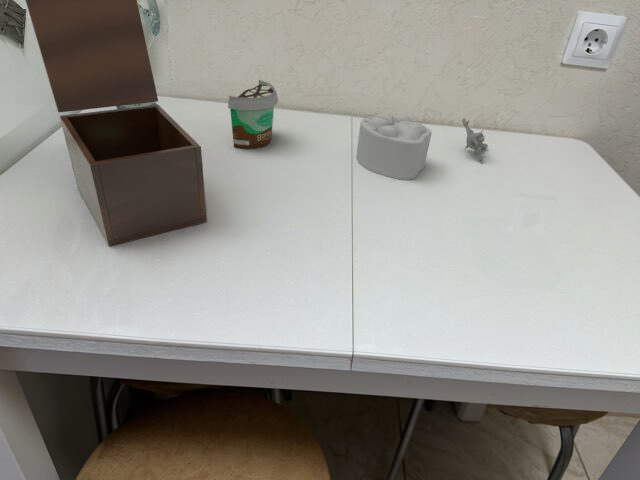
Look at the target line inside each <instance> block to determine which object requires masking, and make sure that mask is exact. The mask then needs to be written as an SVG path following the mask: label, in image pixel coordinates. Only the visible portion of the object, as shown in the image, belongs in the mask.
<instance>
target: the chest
mask: <svg viewBox="0 0 640 480" xmlns="http://www.w3.org/2000/svg"><path fill="white" fill-rule="evenodd" d="M59 120H60V123H61V127H62V131H63V136H64V140H65V143H66V147H67V151H68V155H69V159H70V164H71V167H72V170H73V175H74V178H75V179H74V180H75V182H76V186H77V190H78V192H79V194H80V196H81V198H82V200H83V201H84V204H85V205H86V207H87V209H88V211H89V213H90V214H91V217H92V218H93V220H94V222H95V224H96V226H97V228H98V229H99V232H100V233H101V235H102V237H103V238H104V240H105V242H106V244H107V246H108V247H112V246H115V245H119V244H124V243H128V242H131V241H137V240H139V239H143V238H144V239H145V238H148V237H152V236H155V235H156V236H157V235H160V234H164V233H168V232H172V231H177V230H179V229H184V228H188V227H192V226H196V225H200V224H204V223H208V216H207V204H206V192H205V191H206V190H205V181H204V180H205V179H204V166H203V156H202V155H203V154H202V153H203V152H202V146H201V145H200V144H199V143H198V142H197V141H196V140H195V139H194V138H193V137H192V136H191V135H190V134H189V133H188V132H186V130H185V129H184V128H183V127H182V126H180V124H179V123H177V121H176V120H175V119H173V118H172V117H171V116H170V115H169V114H168V113H167V112H166V111H165V110H164V108H162V107H161V106H160V105H159V104H150V105H141V106H133V107H124V108H116V109H108V110H107V109H106V110H99V111H89V112H82V113H81V112H79V113H72V114H62V115H59Z"/></svg>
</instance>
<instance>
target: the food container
mask: <svg viewBox="0 0 640 480" xmlns="http://www.w3.org/2000/svg"><path fill="white" fill-rule="evenodd" d="M278 98H279V97H278V92H277V90H276V88H275V86H274V85H273V84H272V83H270V82H268V81H264V80H261V79H258V85H256V86H254V87H252V88H249V89H246V90H244V91H243V92H241V93H240V94H239V95H238V96H233V95H228V102H227V109H230V110H229V111H230V119H231V120H230V121H231V131H232V142H233V148H237V149H244V150H245V149H246V150H251V149H252V150H254V149H255V150H257V149H260V148H261V149H262V148H264V147H266V146H269V145H270V144H271V142H272V133H273V123H274V114H275V112H274V111H275V106H276V105H277V104H278V102H279V99H278Z"/></svg>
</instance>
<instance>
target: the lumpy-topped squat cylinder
mask: <svg viewBox="0 0 640 480" xmlns="http://www.w3.org/2000/svg"><path fill="white" fill-rule="evenodd" d="M359 124H360V125H359V130H358V131H359V132H358V138H357V139H358V140H357V147H356V154H355V158H356V161H357V163H358V164H359V165H361V166H362V167H363V168H365V169H366V170H368V171H370V172H373V173H375V174H378V175H381V176H385V177H389V178H391V179H392V178H393V179H396V180H401V181H412V180H414V179H416V178H417V177H418V175H419V173H420V172H421V171H423V170H424V169H425V166H426V162H427V157H428V152H429V147H430V142H431V137H432V130H431V129H430V128H429V127H427V126H425V125H423V124H422V123H420V122H417V121H412V118H411V117H410V116H409V115H408V114H405V113H400V114H396V115H394V116H393V115H390V114H388V113H379V114H377V115H375V116H367V117H364V118H363V119H362V120H361V121H360V123H359Z"/></svg>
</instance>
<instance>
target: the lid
mask: <svg viewBox="0 0 640 480" xmlns="http://www.w3.org/2000/svg"><path fill="white" fill-rule="evenodd" d="M25 4H26V7H27V10H28V14H29V16H30V21H31V24H32V28H33V32H34V34H35V38H36V41H37V45H38V49H39V52H40V55H41V59H42V63H43V65H44V70H45V72H46V76H47V79H48V83H49V86H50V90H51V93H52V97H53V99H54V103H55V107H56V111H57V113H67V112H76V111H83V110H84V111H85V110H86V111H87V110H93V109H95V110H96V109H102V108H103V109H104V108H111V107H112V108H113V107H120V106H121V107H122V106H130V105H139V104H147V103H158V102H159V97H158V93H157V88H156V83H155V79H154V75H153V70H152V64H151V61H150V56H149V55H150V54H149V51H148V46H147V42H146V37H145V32H144V28H143V27H144V26H143V23H142V18H141V13H140V9H139V8H140V7H139V4H138V0H25Z"/></svg>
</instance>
